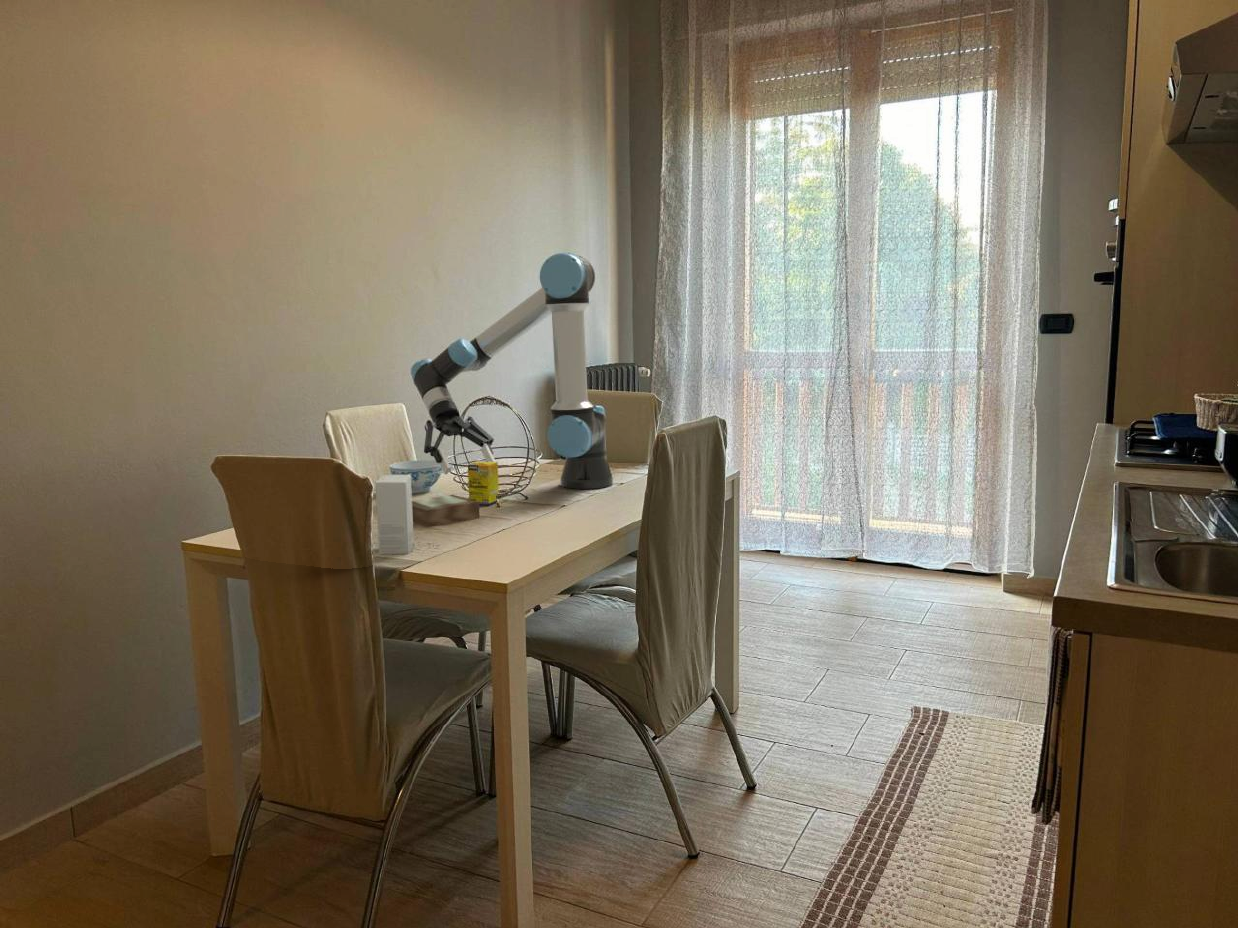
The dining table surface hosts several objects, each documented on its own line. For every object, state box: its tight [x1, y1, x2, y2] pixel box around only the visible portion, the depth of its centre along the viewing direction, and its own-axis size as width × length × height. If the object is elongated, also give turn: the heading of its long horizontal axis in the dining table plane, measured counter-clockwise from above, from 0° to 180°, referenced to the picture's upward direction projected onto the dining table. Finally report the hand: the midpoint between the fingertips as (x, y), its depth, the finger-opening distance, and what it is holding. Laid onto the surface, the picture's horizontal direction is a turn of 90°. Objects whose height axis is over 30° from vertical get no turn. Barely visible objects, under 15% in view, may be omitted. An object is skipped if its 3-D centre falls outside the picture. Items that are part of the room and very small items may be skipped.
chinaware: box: [388, 459, 443, 494], centre depth 262 cm, size 15×15×8 cm
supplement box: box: [467, 460, 500, 507], centre depth 242 cm, size 6×6×11 cm
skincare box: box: [375, 474, 415, 556], centre depth 194 cm, size 8×7×16 cm
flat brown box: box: [412, 494, 480, 528], centre depth 225 cm, size 14×13×4 cm
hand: (470, 468), depth 244 cm, fingers open, 13 cm apart
